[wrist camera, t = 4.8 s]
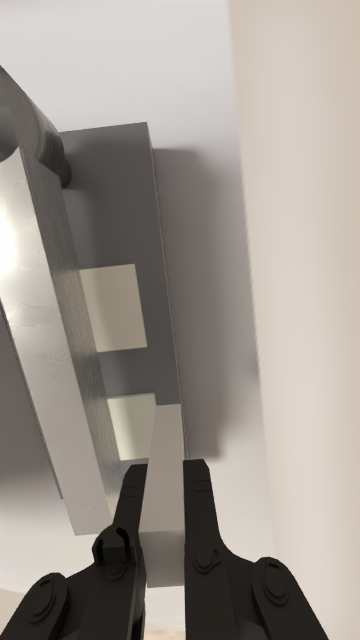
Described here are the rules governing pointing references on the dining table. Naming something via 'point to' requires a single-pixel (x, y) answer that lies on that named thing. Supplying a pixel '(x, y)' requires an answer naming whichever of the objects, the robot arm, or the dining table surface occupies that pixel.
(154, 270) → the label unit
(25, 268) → the swing arm
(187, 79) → the dining table surface
